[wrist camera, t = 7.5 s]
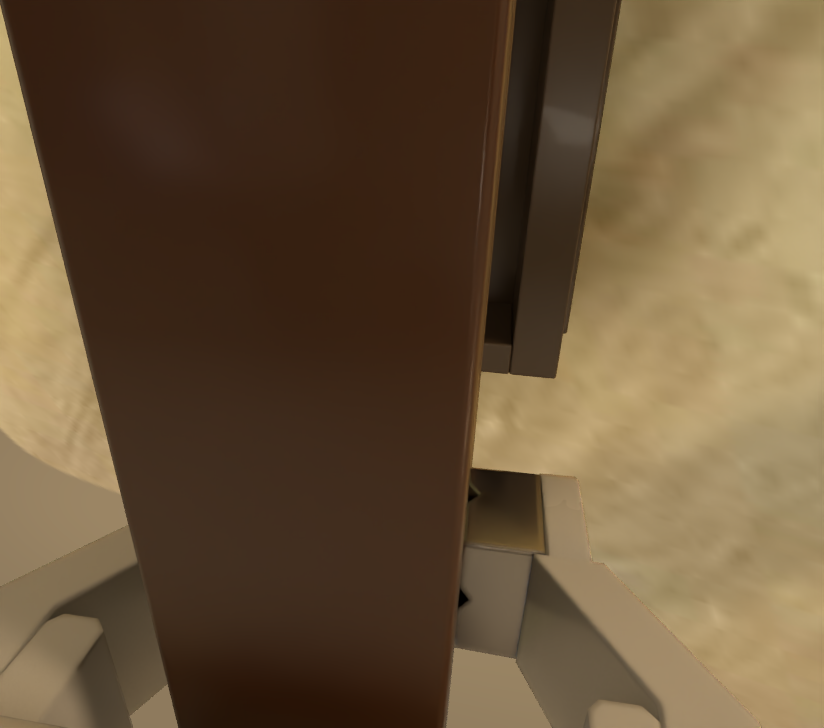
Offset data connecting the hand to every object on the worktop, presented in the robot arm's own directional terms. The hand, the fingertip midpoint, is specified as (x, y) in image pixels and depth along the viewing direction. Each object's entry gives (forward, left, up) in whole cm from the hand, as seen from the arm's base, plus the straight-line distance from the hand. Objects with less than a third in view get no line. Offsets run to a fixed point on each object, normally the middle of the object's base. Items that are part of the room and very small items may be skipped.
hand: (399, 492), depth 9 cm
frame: (-4, -2, -4) cm, 6 cm away
